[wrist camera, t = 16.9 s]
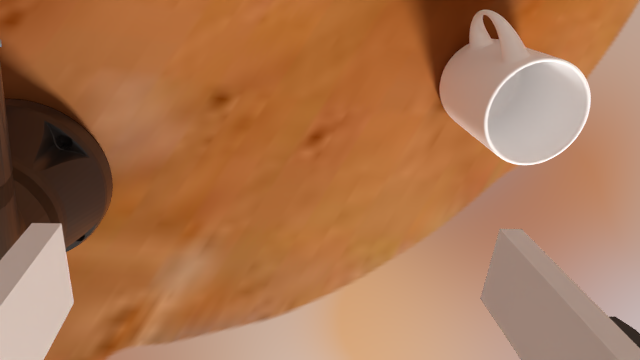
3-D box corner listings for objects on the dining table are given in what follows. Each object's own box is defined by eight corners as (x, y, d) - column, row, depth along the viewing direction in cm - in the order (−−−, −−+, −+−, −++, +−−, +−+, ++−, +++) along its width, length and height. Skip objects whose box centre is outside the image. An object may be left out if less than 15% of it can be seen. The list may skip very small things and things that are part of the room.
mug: (507, -15, 43) (580, -7, 33) (528, 105, 48) (596, 142, 38) (417, 21, 43) (464, 39, 34) (447, 136, 48) (495, 180, 39)
